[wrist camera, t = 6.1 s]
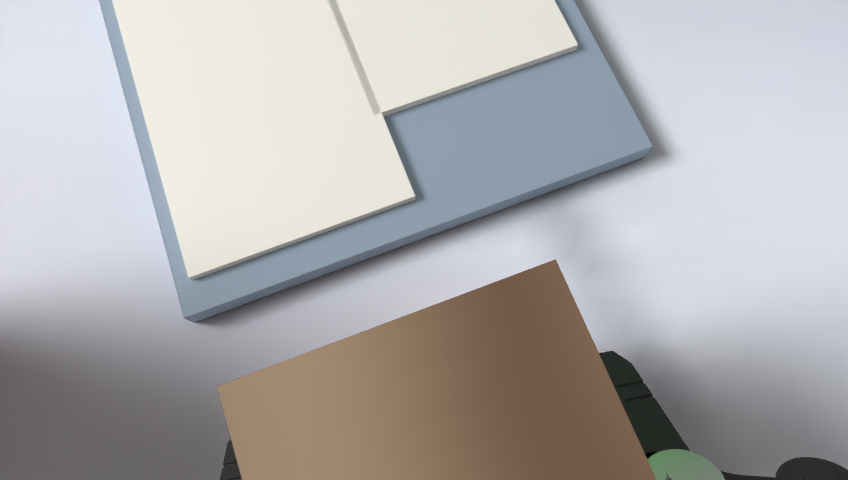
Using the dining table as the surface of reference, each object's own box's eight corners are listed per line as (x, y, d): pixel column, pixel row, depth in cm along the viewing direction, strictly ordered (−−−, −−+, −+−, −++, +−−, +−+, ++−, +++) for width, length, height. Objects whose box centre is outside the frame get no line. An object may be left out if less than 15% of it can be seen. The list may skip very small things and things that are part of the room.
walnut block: (390, 597, 17) (332, 812, 7) (331, 413, 18) (216, 386, 9) (563, 525, 17) (728, 635, 8) (492, 351, 19) (555, 259, 9)
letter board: (193, 322, 19) (180, 315, 18) (91, -56, 23) (75, -79, 22) (644, 156, 20) (655, 141, 19) (469, -171, 25) (471, -198, 24)
